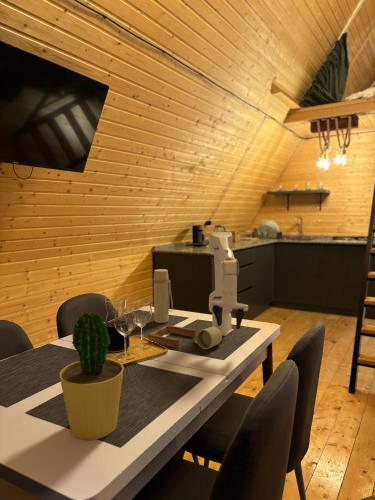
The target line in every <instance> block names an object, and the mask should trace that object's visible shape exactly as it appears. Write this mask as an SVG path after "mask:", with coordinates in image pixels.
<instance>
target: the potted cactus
mask: <svg viewBox="0 0 375 500" xmlns="http://www.w3.org/2000/svg"><path fill="white" fill-rule="evenodd" d="M100 314H101V313H100V312H99V311H97V312H96V311H95V312H84V313H83V314H81V312H80V313H79V315H80V316H79V317H78V316H77V317H76V318H75V320H76V322H74V325H73V327H71V328H72V333H71V336H70V338H71V340H69V342H70V343H71V344H72V346H71V348H70V349H69V351H71V349H73V350H74V353H76V352H77V353H78V354H77V356H78V360H79V361H74V362H72V363H70V364H68V365H66V366H65V367H63V368H62V369H61V370H60V372H59V378H60V379H59V380H60V384H61V385H60V386H61V389H62V394H63V400H64V404H65V409H66V415H67V420H68V424H69V429H70V432H71V434H72V436H73V437H75V438H76V439H80V440H84V441H85V440H88V441H89V440H98V439H101V438H104V437H107V436H108V435H110V434H112V432H114V431H115V430H116V427H117V424H118V417H119V407H120V400H121V392H122V384H123V376H124V371H125V370H124V369H125V367H124V365H123V363H121V362H120V361H118V360H116V359H111V358H107V357H106V356H107V352H110V351H111V350H110V349H108V347H109V345H111V346H112V343H110V342H111V339H110V338H111V336H110V334H111V332H110V333H108V331H110V330H111V329H109V328H107V325H106V324H107V321H105V322H104V320H105V316H101V315H100Z"/></svg>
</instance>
